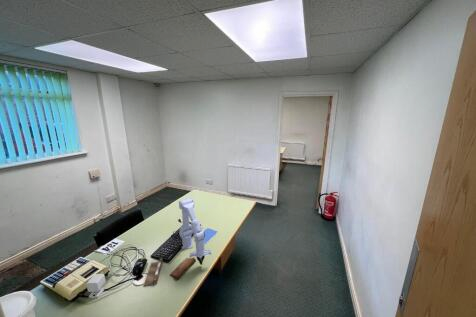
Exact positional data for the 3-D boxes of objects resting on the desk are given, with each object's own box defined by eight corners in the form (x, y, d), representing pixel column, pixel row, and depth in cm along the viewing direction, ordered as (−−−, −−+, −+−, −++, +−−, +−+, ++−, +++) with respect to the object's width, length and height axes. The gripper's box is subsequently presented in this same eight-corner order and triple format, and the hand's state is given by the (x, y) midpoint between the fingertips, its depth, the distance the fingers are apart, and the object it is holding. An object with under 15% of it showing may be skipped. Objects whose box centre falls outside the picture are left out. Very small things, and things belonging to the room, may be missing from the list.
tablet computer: (205, 245, 150) (205, 244, 150) (193, 240, 156) (193, 239, 156) (218, 232, 167) (218, 231, 166) (207, 228, 173) (207, 227, 172)
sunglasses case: (187, 257, 138) (190, 252, 135) (193, 264, 136) (196, 259, 133) (168, 275, 122) (171, 270, 119) (175, 283, 120) (178, 278, 117)
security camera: (107, 286, 115) (104, 273, 112) (99, 297, 108) (95, 284, 105) (96, 287, 114) (93, 274, 112) (88, 298, 108) (84, 284, 105)
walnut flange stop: (151, 263, 132) (150, 259, 131) (162, 262, 133) (162, 257, 132) (143, 286, 115) (142, 281, 114) (156, 284, 116) (155, 279, 115)
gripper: (188, 252, 120) (190, 270, 124) (211, 249, 123) (211, 266, 126) (189, 245, 127) (190, 261, 130) (210, 242, 130) (211, 258, 133)
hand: (201, 263), depth 129 cm, fingers closed
